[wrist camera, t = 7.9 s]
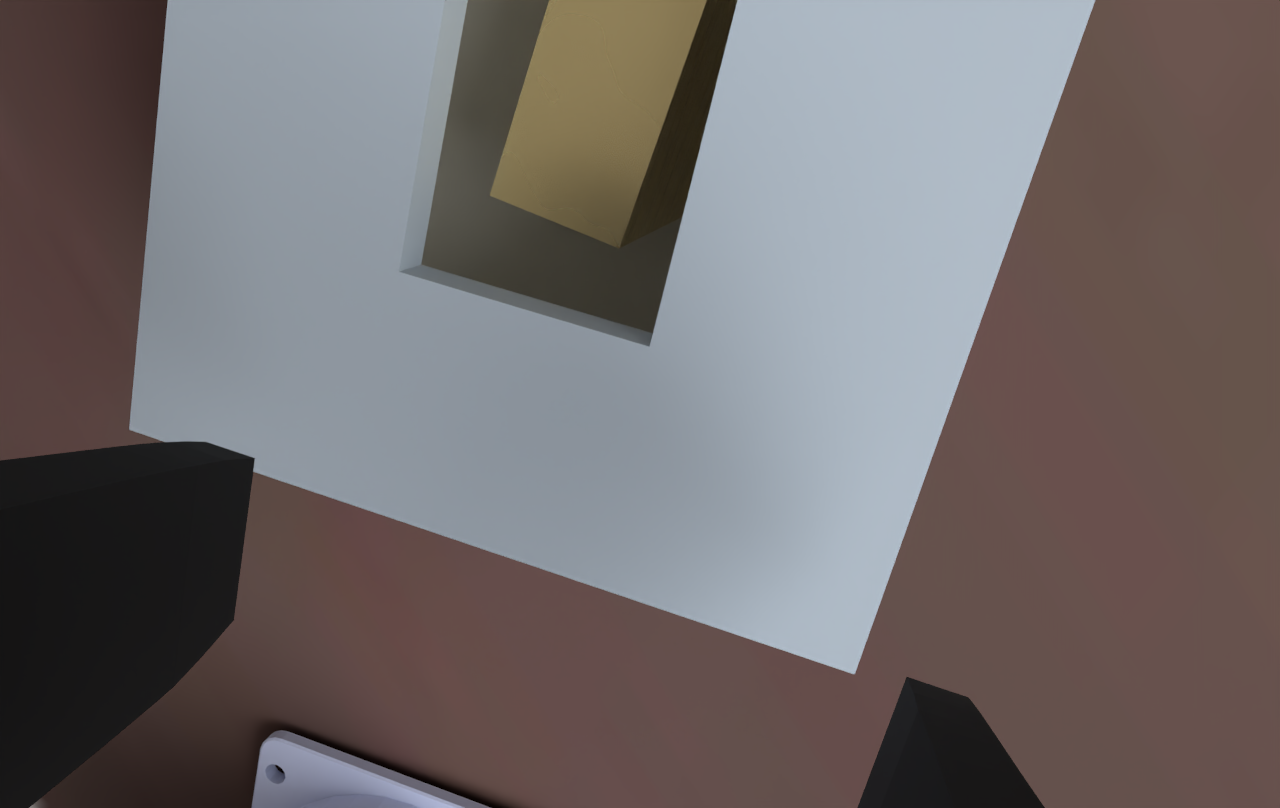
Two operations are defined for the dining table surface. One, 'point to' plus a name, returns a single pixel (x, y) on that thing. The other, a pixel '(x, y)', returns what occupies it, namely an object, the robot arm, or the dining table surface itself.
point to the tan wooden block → (614, 114)
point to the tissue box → (595, 289)
